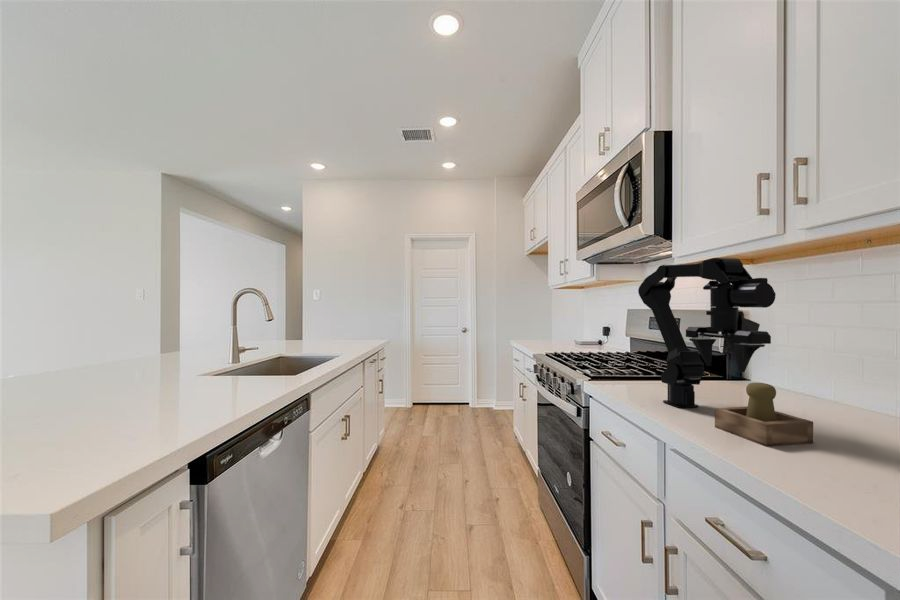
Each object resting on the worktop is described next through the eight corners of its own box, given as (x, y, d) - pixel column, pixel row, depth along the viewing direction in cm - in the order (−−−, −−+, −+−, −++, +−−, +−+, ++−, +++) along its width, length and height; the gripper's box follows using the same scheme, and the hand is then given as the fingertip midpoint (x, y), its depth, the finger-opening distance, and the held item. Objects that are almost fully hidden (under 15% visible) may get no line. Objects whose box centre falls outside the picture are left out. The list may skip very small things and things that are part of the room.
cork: (759, 437, 80) (759, 386, 80) (737, 427, 86) (736, 380, 86) (786, 436, 80) (786, 386, 80) (762, 427, 86) (762, 380, 86)
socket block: (714, 427, 87) (714, 408, 87) (756, 424, 90) (756, 405, 90) (766, 446, 76) (766, 424, 76) (813, 442, 78) (813, 421, 78)
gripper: (790, 307, 85) (790, 375, 85) (718, 306, 103) (718, 362, 103) (750, 307, 83) (750, 376, 83) (684, 306, 101) (684, 363, 101)
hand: (724, 368), depth 93 cm, fingers open, 9 cm apart
